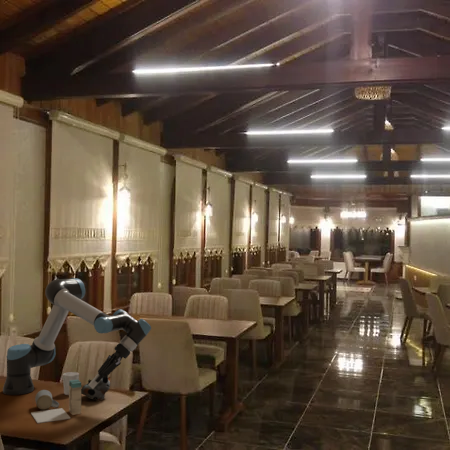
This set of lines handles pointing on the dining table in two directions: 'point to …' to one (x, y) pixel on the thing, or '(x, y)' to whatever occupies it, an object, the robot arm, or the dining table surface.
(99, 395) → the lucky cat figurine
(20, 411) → the dining table surface
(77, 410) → the beige long block
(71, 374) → the white cup
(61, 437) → the dining table surface
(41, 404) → the ceramic mug
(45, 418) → the grey mat
